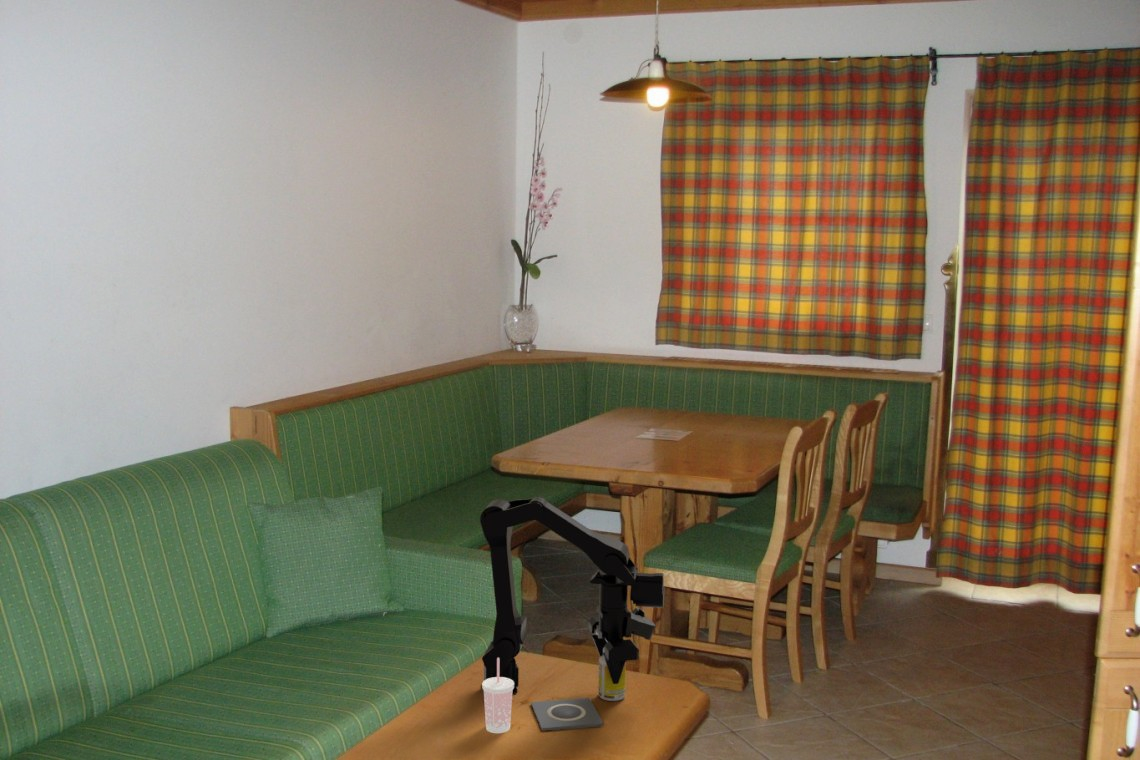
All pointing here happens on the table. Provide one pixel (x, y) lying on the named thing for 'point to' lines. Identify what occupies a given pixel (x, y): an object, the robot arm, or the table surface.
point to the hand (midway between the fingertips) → (612, 677)
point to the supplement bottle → (610, 683)
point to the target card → (566, 714)
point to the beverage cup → (498, 702)
